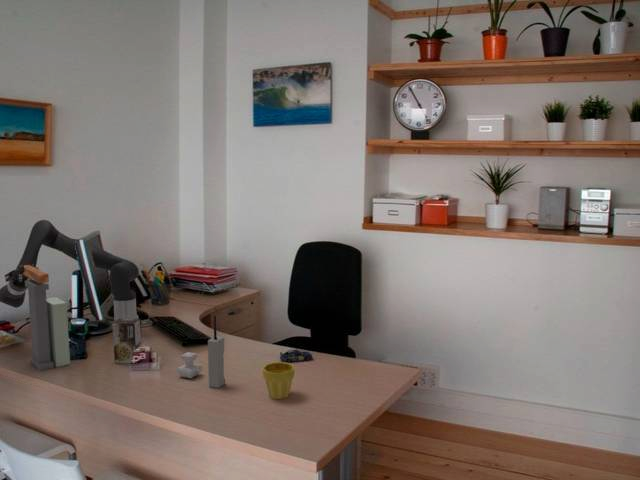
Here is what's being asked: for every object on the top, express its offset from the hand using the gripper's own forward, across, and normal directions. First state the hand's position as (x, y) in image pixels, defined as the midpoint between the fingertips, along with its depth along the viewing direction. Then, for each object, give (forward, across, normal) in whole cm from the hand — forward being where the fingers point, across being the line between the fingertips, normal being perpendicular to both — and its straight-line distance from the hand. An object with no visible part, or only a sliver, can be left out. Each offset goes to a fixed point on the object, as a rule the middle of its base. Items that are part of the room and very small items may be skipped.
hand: (28, 267), depth 235 cm
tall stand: (-10, 0, +36) cm, 37 cm away
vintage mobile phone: (+42, +40, +67) cm, 89 cm away
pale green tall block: (-11, +6, +36) cm, 38 cm away
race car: (+39, +78, +66) cm, 109 cm away
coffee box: (+4, +27, +45) cm, 52 cm away
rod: (+5, 0, +6) cm, 8 cm away
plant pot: (+60, +51, +78) cm, 111 cm away
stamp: (+30, +37, +60) cm, 76 cm away
